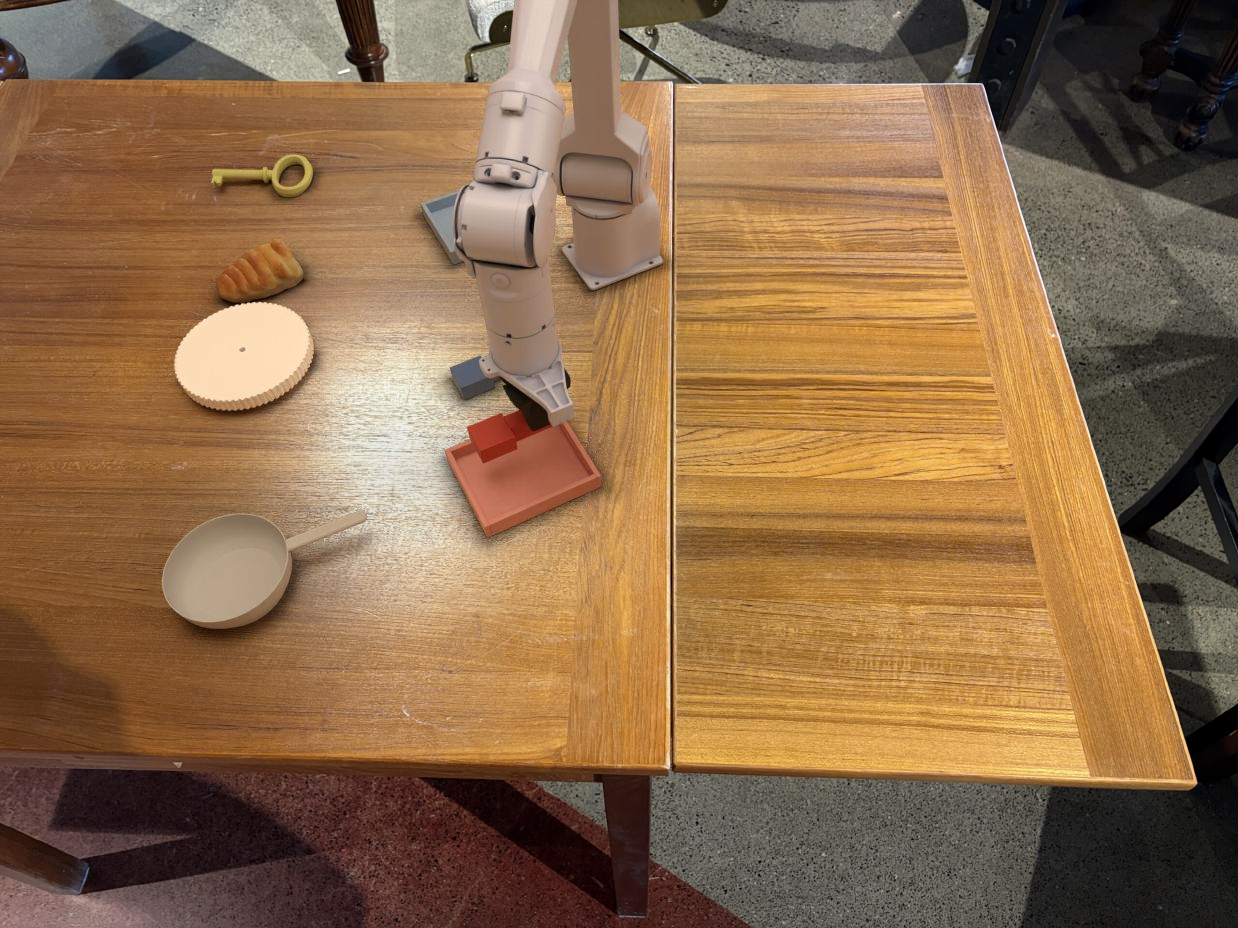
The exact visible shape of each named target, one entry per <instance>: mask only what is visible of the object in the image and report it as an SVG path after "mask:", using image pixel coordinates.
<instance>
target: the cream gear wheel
mask: <svg viewBox="0 0 1238 928" xmlns="http://www.w3.org/2000/svg"><path fill="white" fill-rule="evenodd" d="M179 343H180V345H178V346H177V350H176V351H175V353H176V354H174V359H173V362H174V363H173V366H174V367H173V370H174V374H175V378H176V379H177V381H178V383H179V384H180V386H181V388H182V389H183V391H184V392H185V393H186V395H188V396H189V398H190V399H192V400H193V401H194V402H195V403H197V404H200V406H205V408H210V409H212V410H214V409H215V410H216V411H219V410H221V411H224V412H225V411H226V410H227V411H228V412H231V411H235V412H236V411H238V410H239V411H243V410H244V409H246V410H250V408H252V409H254V408H256V407H262V405H263V404H264V405H267V404H268V402H274V400H275V399H276V400H278V399H279V398H280V396H284V395H285V393H288V392H290V389H293V388H294V386H295V385H297V384H299V381H301V380H302V377H305V375H306V373H308V371H309V369H310V367H311V365H310V364H312V360H313V359H314V356H313V355H314V354H315V352H314V351H315V347H314V346H315V344H314V340H313V336H312V334H311V332H310V330H309V327H308V326H307V323H306V322H305V319H304V318H302V316H301V315H299V314H298V313H297V312H295V310H292V309H291V308H288V307H287V306H283V305H282V304H279V305H278V304H277V303H273V302H268V303H267V302H266V301H264V302H261V301H258V302H255V301H254V302H251V303H250V302H247V303H245V302H242V303H241V304H235V305H234V306H233V305H231V306H229V307H228V308H227V307H225V308H223V309H220V310H218V311H217V312H214V313H212V314H211V315H208V316H207V318H203V319H202V321H199V322H198V323H197V325H194V326H193V328H191V329H190V330H189V332H187V333H186V335H185V337H183V338H182V341H180V342H179ZM308 368H309V369H308Z"/></svg>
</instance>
